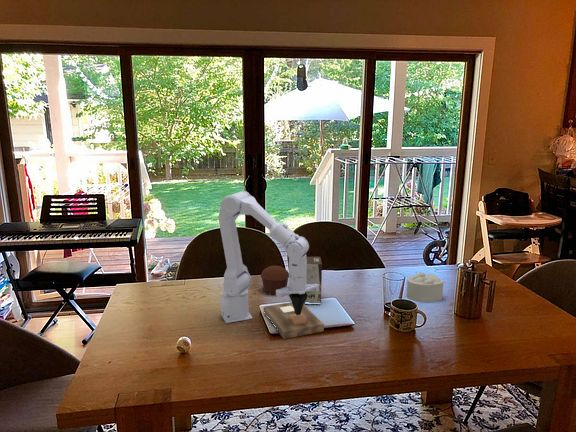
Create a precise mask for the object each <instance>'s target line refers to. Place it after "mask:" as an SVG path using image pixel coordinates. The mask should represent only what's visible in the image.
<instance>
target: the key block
mask: <svg viewBox="0 0 576 432" xmlns="http://www.w3.org/2000/svg"><path fill="white" fill-rule="evenodd" d="M286 306H292V307H293V304H292V301H290V302H284V303H279V304H274V305H273V304H272V305H267V306H263V313H264V312H265V314H266V315H267V316H268V317H269V318H270V320H271V321H272V322H273V324H274V325H275V326H276V328H277V329H278V331H279V332H278V331H277V332H278V334H279V335H280V336H281V337H282V339H283V340H285V339H291V338H296V337H301V336H307V335H310V334H312V335H313V334H315V333H321V332H324V330H325V326H324V325H325V324H324V323H323V321H321V320H320V319H319V318H318V317H317V316H316V315H315V314H314V313H313V312H312V311H311V310H310V309H309V308H308V307H307V305H305V304H304V305H303V308H302V311H301V313H302V314H303V315H304V316H305V317H306V323H303V324H297V325H293V324H292V323H291V322H290V321H289V315H291V314H295V312H292V313H286V314H283V313H282V312H281V311H280V309H279V308H280V307H286ZM293 308H294V307H293ZM265 314H264V315H265ZM276 328H275V329H276Z"/></svg>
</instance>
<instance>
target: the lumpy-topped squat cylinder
mask: <svg viewBox="0 0 576 432" xmlns="http://www.w3.org/2000/svg"><path fill="white" fill-rule="evenodd" d="M443 293H444V280H443V279H441V278H439V277H438V276H436V275H435V274H433V273H429V274H426V273H424V272H421V271H420V272H419V271H418V272H416V274H414V275H412V276H410V277H408V278H407V284H406V296H405V297H406V298H407V299H408V300H410V301H413V302H418V303H437V302H441V301H442V300H443Z"/></svg>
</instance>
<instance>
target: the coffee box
mask: <svg viewBox="0 0 576 432" xmlns="http://www.w3.org/2000/svg"><path fill="white" fill-rule="evenodd" d="M321 258H322V257H321V256H306V261H307V280H306V284H318V285H319V291H310V292H306V294H307V295H308V297H307V299H306V301H305V302H309V303H321V304H322V281H323V280H322V277H323V275H322V274H323V273H322V272H323V271H322V269H323V263H322V259H321Z"/></svg>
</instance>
